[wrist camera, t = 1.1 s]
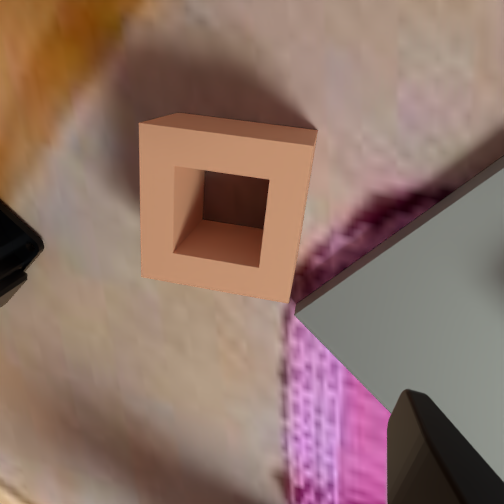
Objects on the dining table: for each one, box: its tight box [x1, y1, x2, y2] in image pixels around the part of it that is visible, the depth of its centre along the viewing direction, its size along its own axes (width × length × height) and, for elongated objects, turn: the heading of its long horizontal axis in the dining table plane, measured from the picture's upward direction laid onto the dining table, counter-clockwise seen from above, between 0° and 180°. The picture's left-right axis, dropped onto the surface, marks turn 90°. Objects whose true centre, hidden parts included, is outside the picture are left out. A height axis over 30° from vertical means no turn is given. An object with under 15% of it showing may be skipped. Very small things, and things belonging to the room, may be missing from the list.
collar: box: [139, 113, 318, 303], centre depth 17 cm, size 6×6×4 cm
